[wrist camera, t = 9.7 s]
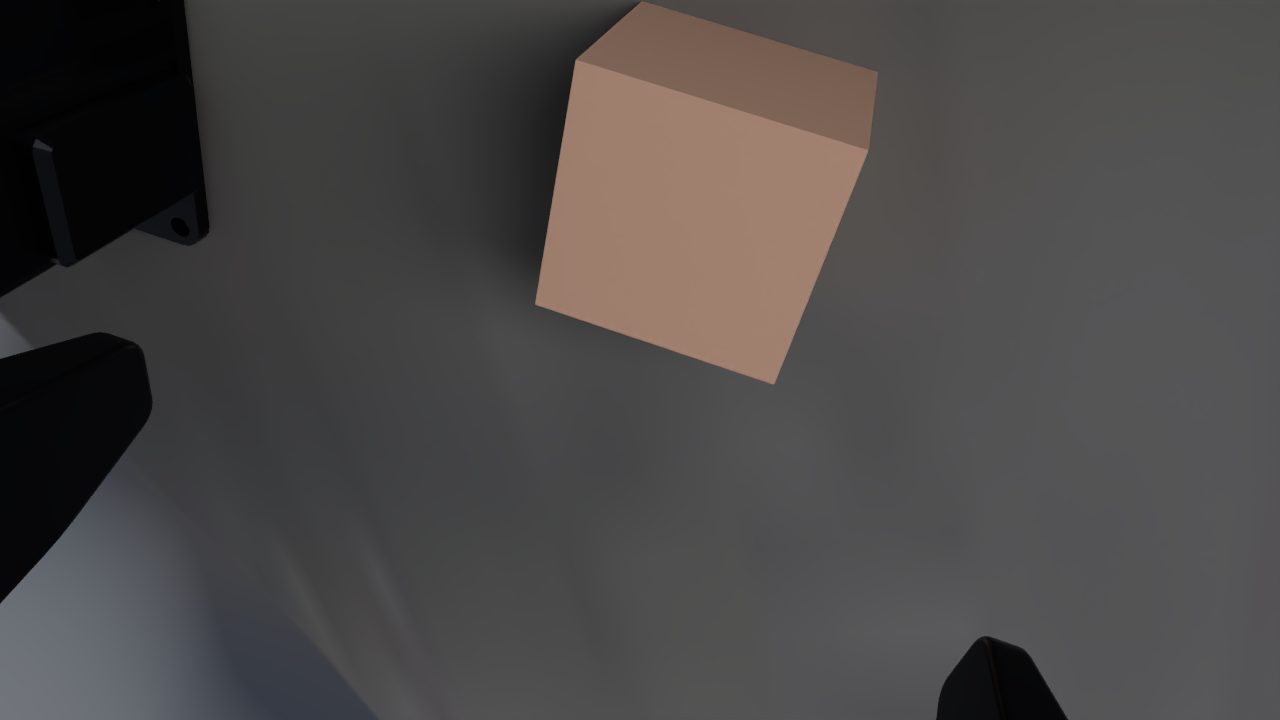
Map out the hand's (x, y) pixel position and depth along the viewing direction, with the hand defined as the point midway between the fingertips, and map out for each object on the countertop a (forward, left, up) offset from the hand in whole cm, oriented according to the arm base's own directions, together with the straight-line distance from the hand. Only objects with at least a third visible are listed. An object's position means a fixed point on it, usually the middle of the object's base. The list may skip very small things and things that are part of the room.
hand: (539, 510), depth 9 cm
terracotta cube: (0, 0, -11) cm, 11 cm away
